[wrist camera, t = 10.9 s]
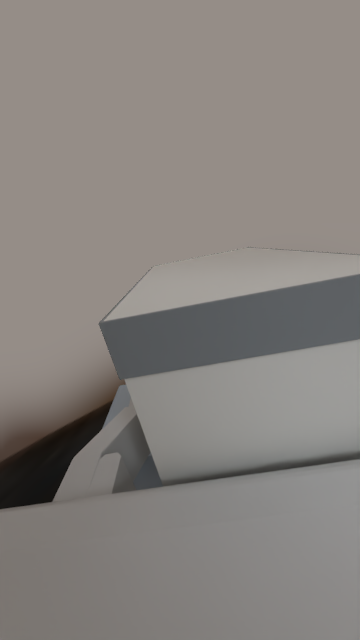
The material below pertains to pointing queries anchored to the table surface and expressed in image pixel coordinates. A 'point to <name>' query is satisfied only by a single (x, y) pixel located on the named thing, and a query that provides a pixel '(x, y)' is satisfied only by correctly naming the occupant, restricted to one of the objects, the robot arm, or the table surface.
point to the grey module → (243, 361)
